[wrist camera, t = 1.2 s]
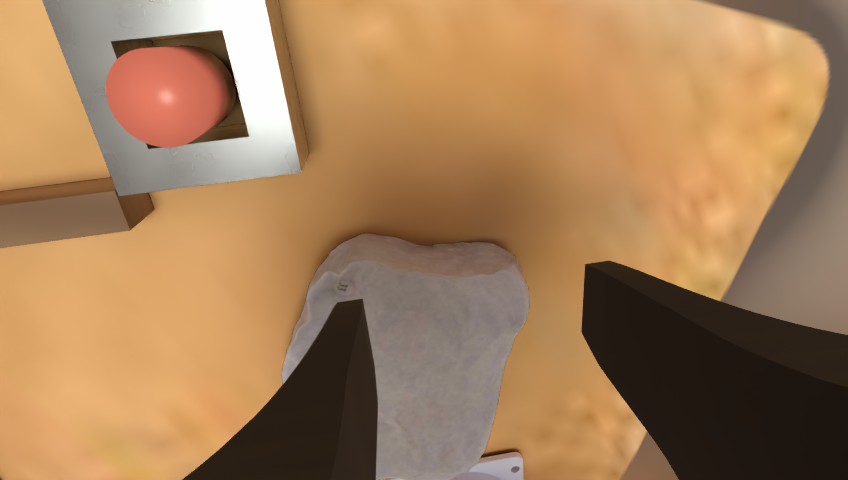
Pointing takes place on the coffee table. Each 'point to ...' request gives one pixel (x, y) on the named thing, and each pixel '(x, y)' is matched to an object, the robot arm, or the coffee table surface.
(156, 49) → the button
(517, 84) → the coffee table surface
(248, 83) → the silver square button housing
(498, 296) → the stone block
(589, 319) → the robot arm
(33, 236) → the pallet pocket
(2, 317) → the coffee table surface
